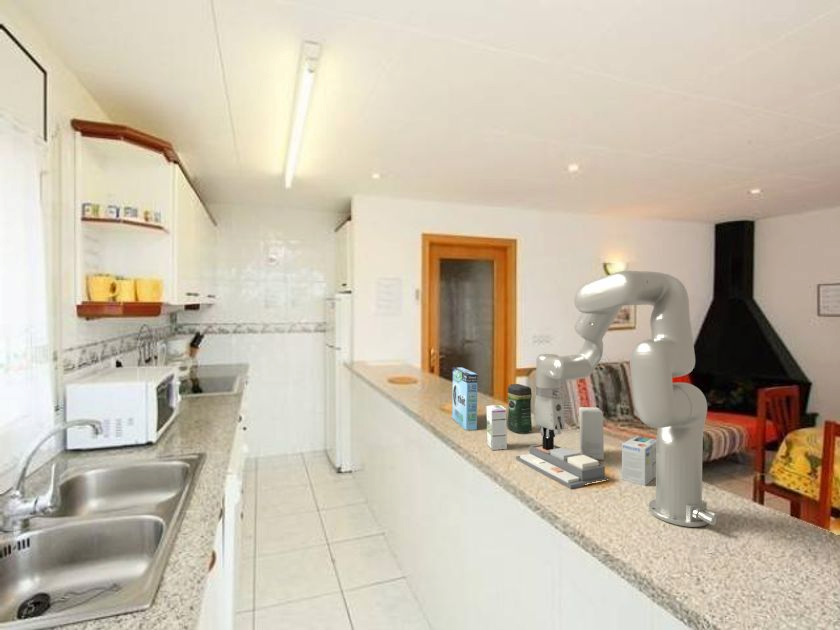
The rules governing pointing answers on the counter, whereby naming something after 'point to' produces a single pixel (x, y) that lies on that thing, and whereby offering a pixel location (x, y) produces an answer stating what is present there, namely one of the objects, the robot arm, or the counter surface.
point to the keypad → (561, 468)
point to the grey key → (563, 453)
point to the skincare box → (591, 432)
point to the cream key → (583, 461)
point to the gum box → (464, 398)
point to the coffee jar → (519, 408)
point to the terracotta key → (544, 449)
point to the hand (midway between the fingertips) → (548, 448)
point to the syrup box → (496, 427)
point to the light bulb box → (639, 460)
